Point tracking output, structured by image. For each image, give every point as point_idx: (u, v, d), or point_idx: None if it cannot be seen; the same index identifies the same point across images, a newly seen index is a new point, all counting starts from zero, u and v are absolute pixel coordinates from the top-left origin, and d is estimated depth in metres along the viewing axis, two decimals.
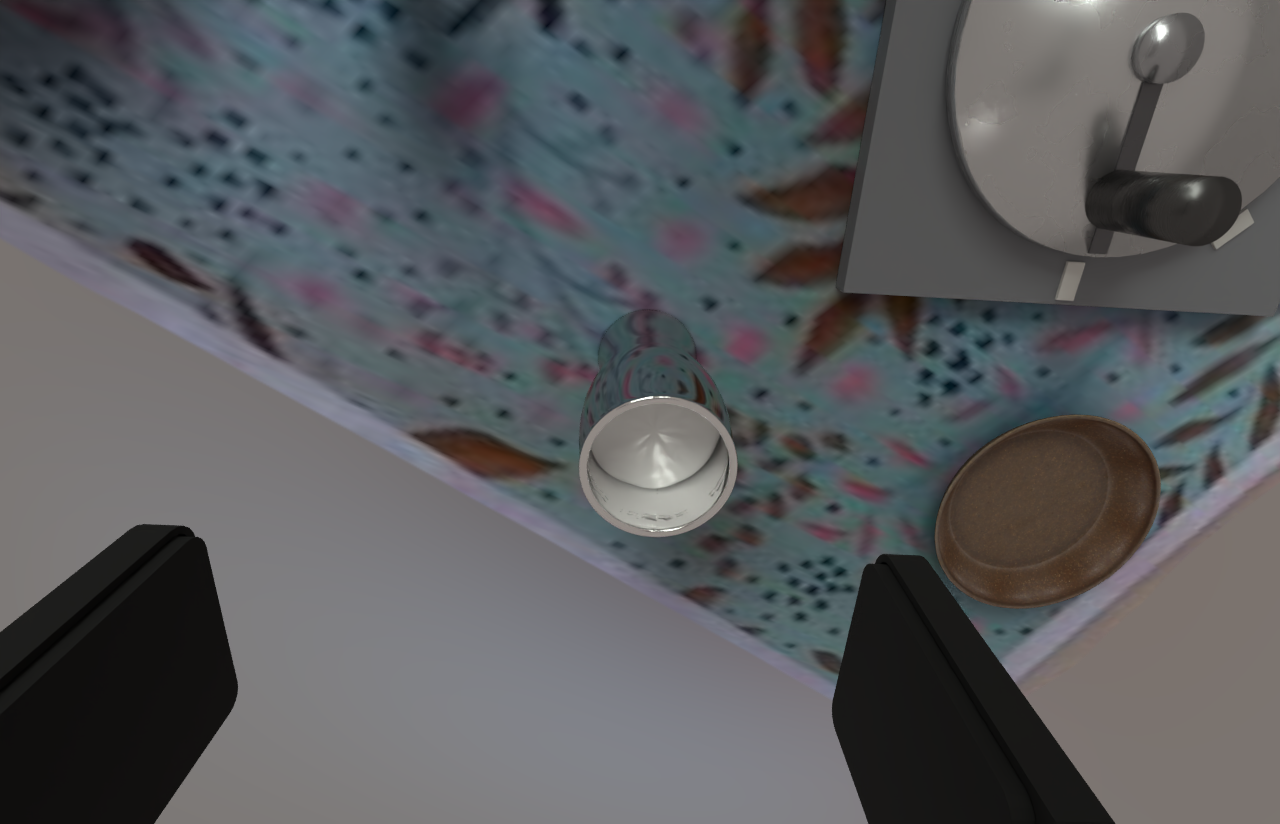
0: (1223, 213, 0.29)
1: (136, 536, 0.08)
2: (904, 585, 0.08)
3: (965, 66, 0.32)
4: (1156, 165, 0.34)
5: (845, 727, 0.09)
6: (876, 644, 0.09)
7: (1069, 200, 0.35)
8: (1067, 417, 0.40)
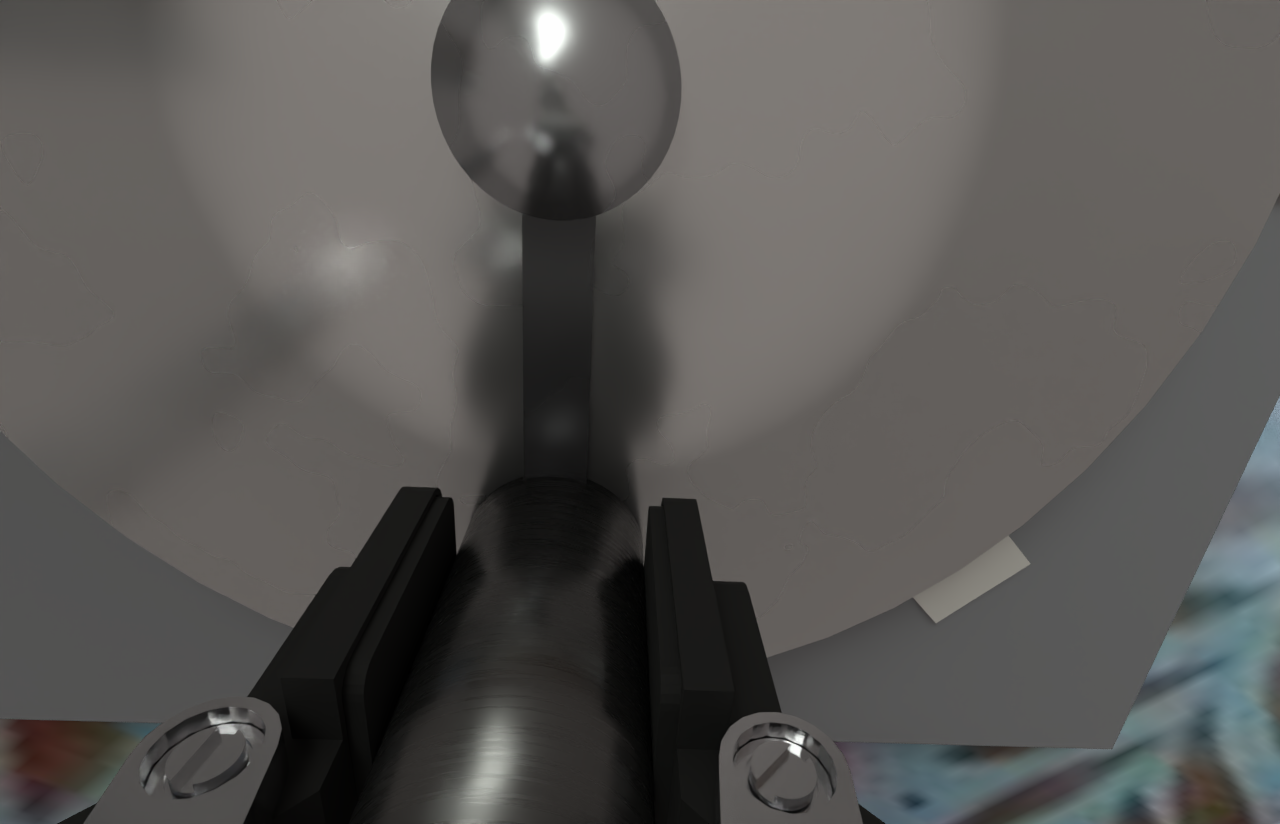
0: None
1: (409, 495, 0.09)
2: (666, 521, 0.09)
3: None
4: (660, 459, 0.10)
5: None
6: (647, 575, 0.10)
7: None
8: None
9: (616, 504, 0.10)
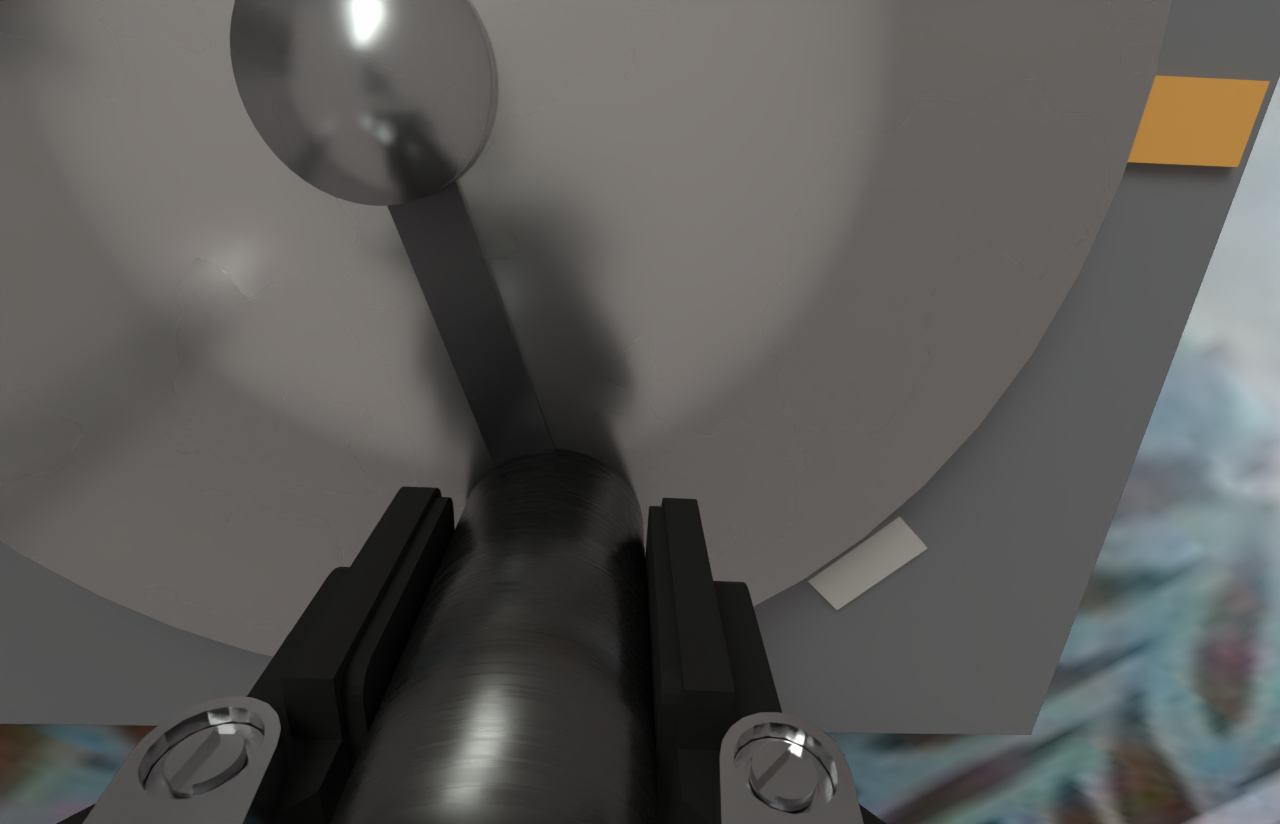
0: None
1: (408, 495, 0.09)
2: (666, 521, 0.09)
3: None
4: (618, 406, 0.10)
5: None
6: (647, 575, 0.10)
7: None
8: None
9: (590, 464, 0.10)
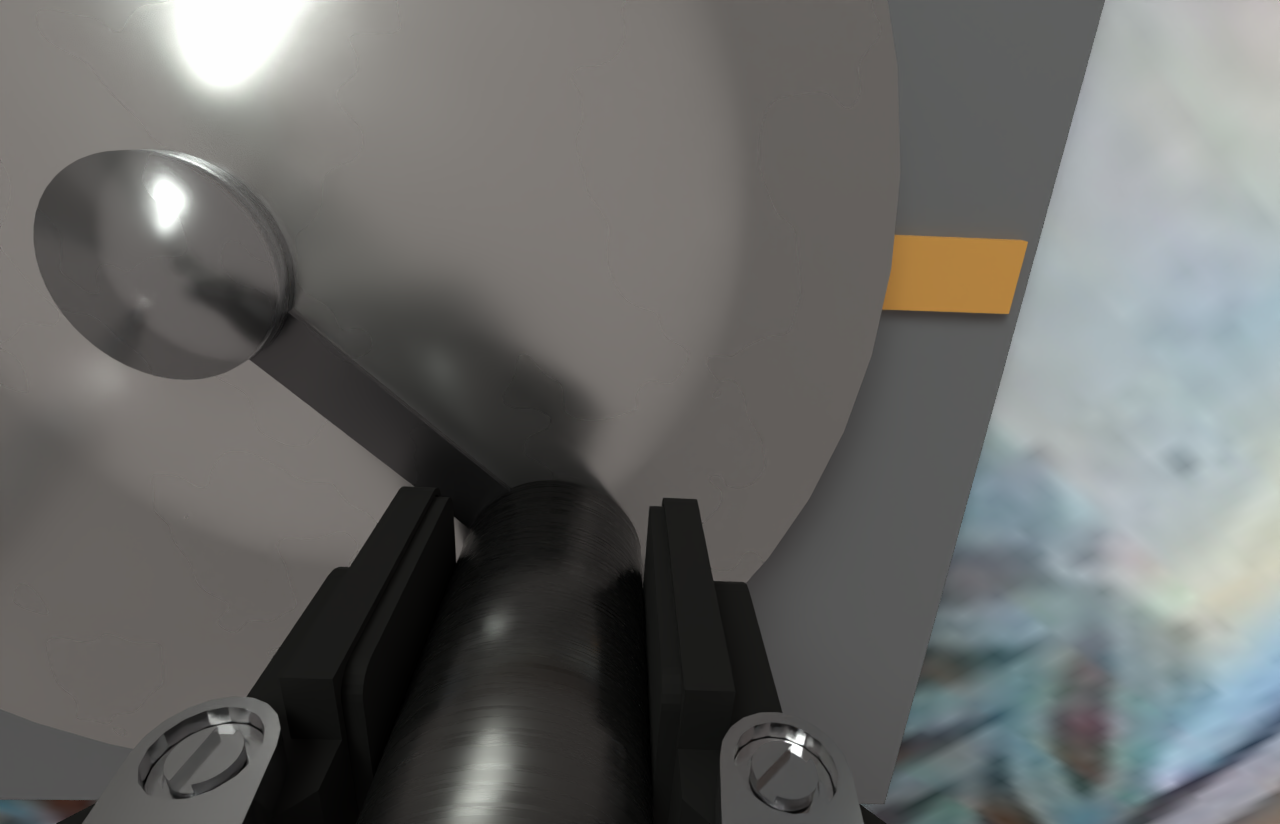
0: None
1: (408, 495, 0.09)
2: (666, 521, 0.09)
3: None
4: (539, 425, 0.10)
5: None
6: (648, 575, 0.10)
7: None
8: None
9: (542, 488, 0.10)
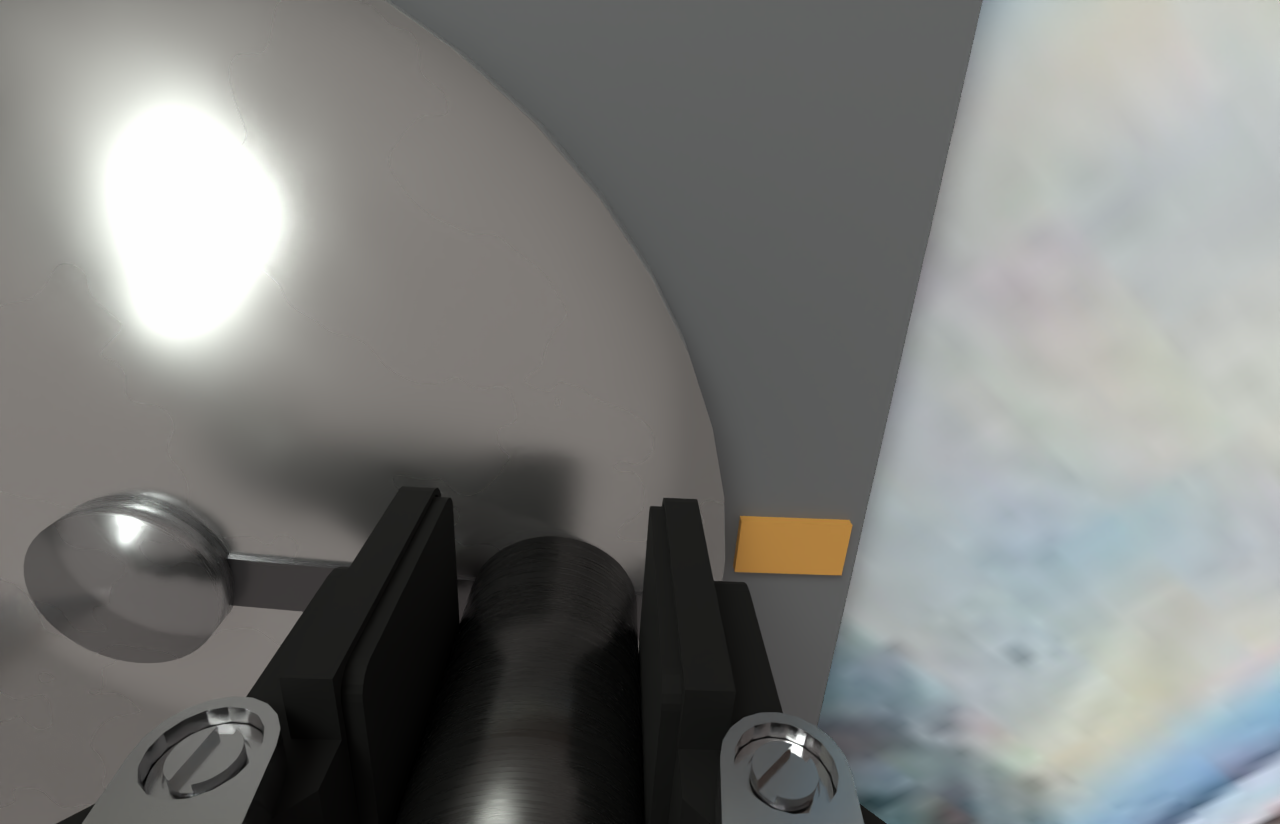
0: None
1: (408, 495, 0.09)
2: (667, 521, 0.09)
3: None
4: None
5: (639, 656, 0.10)
6: (648, 575, 0.10)
7: None
8: None
9: (490, 564, 0.11)
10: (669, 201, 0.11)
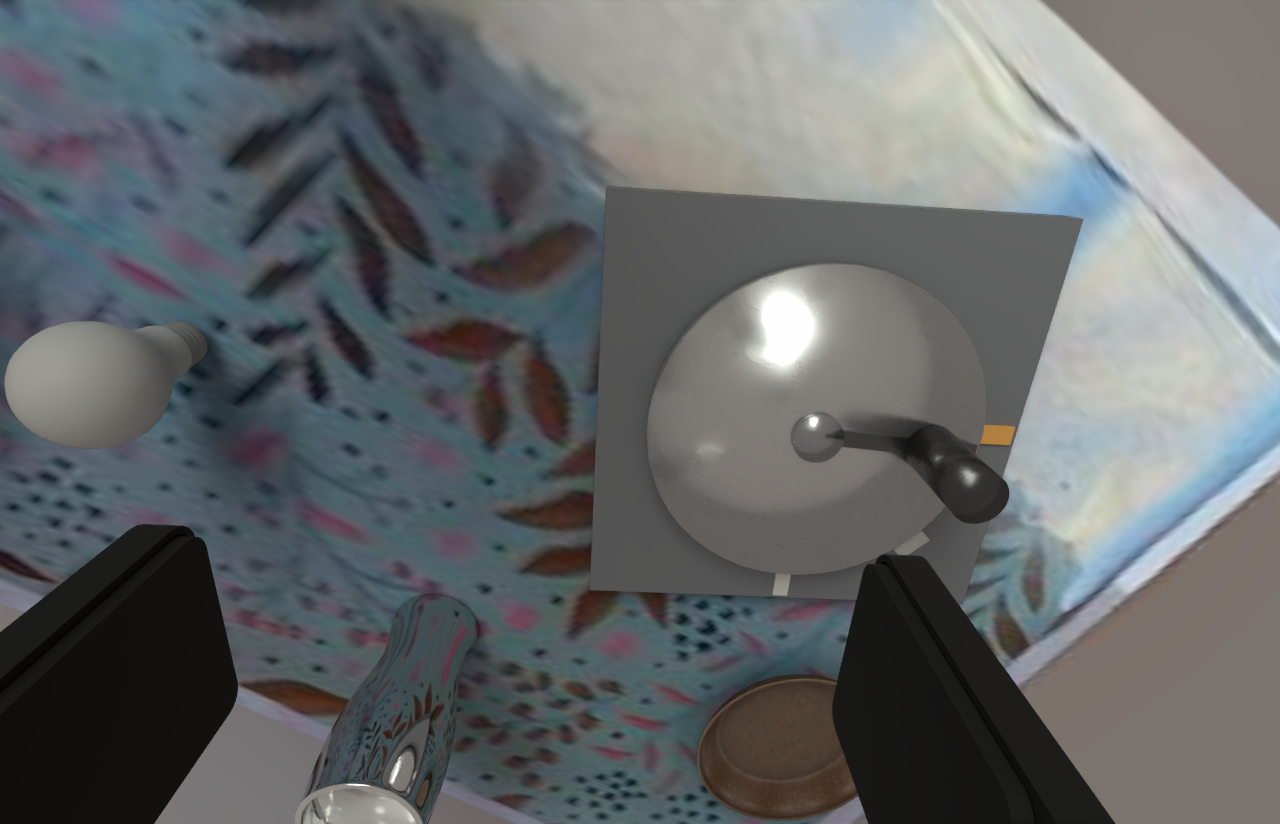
0: (984, 485, 0.33)
1: (136, 536, 0.08)
2: (904, 585, 0.08)
3: (801, 569, 0.42)
4: (908, 419, 0.38)
5: (845, 727, 0.09)
6: (876, 644, 0.09)
7: (920, 482, 0.40)
8: (796, 680, 0.47)
9: (918, 432, 0.38)
10: (974, 331, 0.38)
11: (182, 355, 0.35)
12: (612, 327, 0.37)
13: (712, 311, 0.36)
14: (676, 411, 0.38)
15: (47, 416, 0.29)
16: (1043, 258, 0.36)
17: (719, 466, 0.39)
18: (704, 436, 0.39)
